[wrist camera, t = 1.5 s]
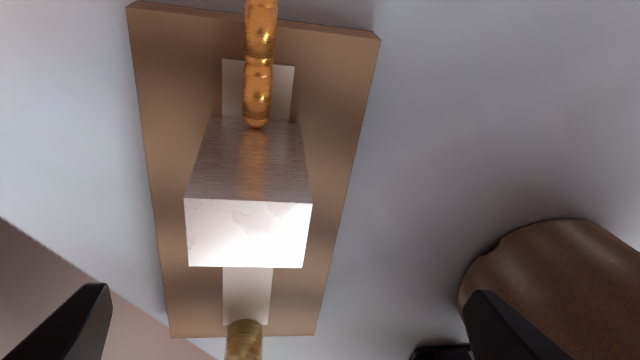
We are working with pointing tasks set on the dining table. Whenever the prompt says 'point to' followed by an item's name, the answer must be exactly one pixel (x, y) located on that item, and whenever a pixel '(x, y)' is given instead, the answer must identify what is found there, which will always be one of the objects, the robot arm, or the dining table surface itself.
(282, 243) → the grey metal piece
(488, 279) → the plant pot
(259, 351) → the keeper hook
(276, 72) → the board
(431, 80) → the dining table surface
